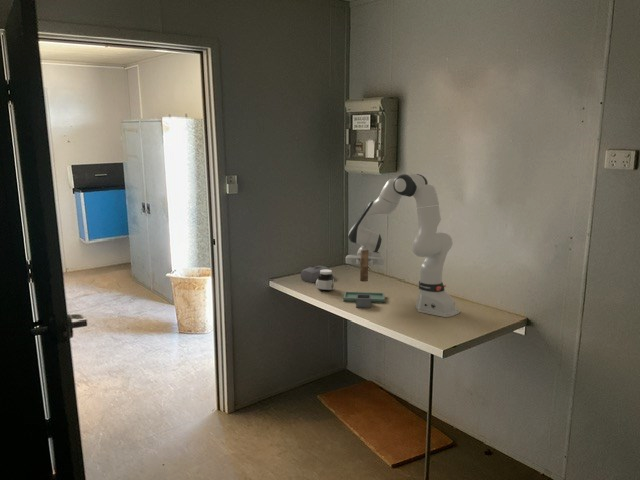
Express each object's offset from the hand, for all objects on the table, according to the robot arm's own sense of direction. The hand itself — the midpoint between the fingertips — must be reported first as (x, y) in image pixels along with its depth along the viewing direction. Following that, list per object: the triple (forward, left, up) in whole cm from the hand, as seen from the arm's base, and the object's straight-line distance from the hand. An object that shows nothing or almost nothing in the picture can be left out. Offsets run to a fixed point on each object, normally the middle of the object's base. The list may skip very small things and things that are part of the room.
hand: (364, 263), depth 262 cm
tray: (+8, -10, -23) cm, 26 cm away
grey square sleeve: (0, 0, -23) cm, 23 cm away
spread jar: (+36, -6, -23) cm, 44 cm away
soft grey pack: (+56, -20, -23) cm, 64 cm away
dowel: (+1, -1, -9) cm, 9 cm away
